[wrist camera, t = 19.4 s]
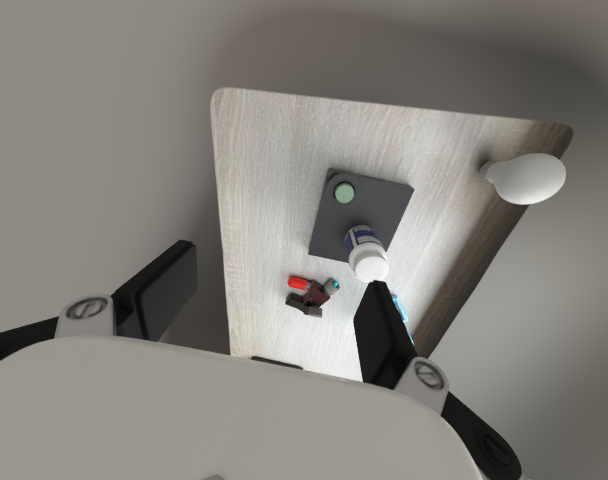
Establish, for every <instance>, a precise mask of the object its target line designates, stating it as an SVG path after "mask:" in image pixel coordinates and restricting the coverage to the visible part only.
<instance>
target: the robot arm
mask: <svg viewBox="0 0 608 480" xmlns="http://www.w3.org/2000/svg"><path fill="white" fill-rule="evenodd" d="M197 287H198V276H197V254H196V246H195V245H193V242H189V241H185V240H179V241H177V242H176V243H175V244H174V245H172V246H171V247H170V248H169V249H167V250H166V251H165V252H164V253H162V254H161V255H160V256H159V257H157V258H156V259H155V260H153V261H152V262H151V263H150V264H148V265H147V266H146V267H145V268H143V269H142V270H141V271H140V272H138V273H137V274H136V275H135V276H133V277H132V278H131V279H130V280H128V281H127V282H126V283H125V284H123V285H122V286H121V287H120V288H118V289H117V290H116V291H115V293H113V294H112V295H111V296H109V295H105V294H92V295H87V296H83V297H80V298H78V299H76V300H74V301H72V302H70V303H69V304H67V305H66V306H65V307H64V308H63V309H62V311H61V313H60V315H59V316H58V317H55V318H51V319H48V320H44V321H41V322H37V323H33V324H30V325H26V326H22V327H19V328H15V329H12V330H8V331H4V332H1V333H0V480H528V479H527V478H526V477H525V476H524V475H523V474H522V471H521V465H520V463H519V460H518V458H517V456H516V455H515V453H514V451H513V449H512V448H511V447H510V445H509V444H508V443H507V442H506V441H505V440H504V439H503V438H502V437H501V436H500V435H499V434H498V433H497V432H496V431H495V430H493V429H492V428H491V427H490V426H489V425H488V424H487V423H485V422H484V421H483V420H482V419H481V418H480V417H478V416H477V415H476V414H475V413H474V412H473V411H471V410H470V409H469V408H468V407H467V406H466V405H464V404H463V403H462V402H461V401H460V400H459V399H457V398H456V397H455V396H454V395H453V394H451V393H450V392H449V391H448V390H449V383H448V380H447V378H446V376H445V374H444V373H443V372H442V370H441V369H440V368H439V367H438V366H437V365H435V364H434V363H433V362H431V361H430V360H428V359H426V358H423V357H418V355H417V353H416V351H415V348H414V346H413V343H412V341H411V339H410V336H409V334H408V332H407V329H406V327H405V324H404V322H403V320H402V317H401V315H400V313H399V311H398V310H397V309H396V306H395V304H394V301H393V299H392V296H391V294H390V292H389V289H388V287H387V284H386V282H383V281H378V280H373V282H369V284H368V286H367V288H366V291H365V293H364V295H363V298H362V300H361V302H360V305H359V307H358V309H357V311H356V314H355V316H354V321H353V323H354V329H355V335H356V342H357V348H358V354H359V360H360V366H361V372H362V379H363V382H359V381H354V380H350V379H345V378H341V377H336V376H331V375H326V374H321V373H316V372H311V371H306V370H301V369H296V368H291V367H286V366H281V365H275V364H270V363H265V362H260V361H255V360H250V359H245V358H239V357H234V356H229V355H224V354H218V353H213V352H208V351H203V350H197V349H192V348H187V347H181V346H176V345H171V344H165V343H158V342H157V341H158V340H159V339H160V337H161V336H162V335H163V334H164V332H165V331H166V330H167V328H168V327H169V326H170V324H171V323H172V321H173V320H174V319H175V317H176V316H177V315H178V314H179V313H180V311H181V310H182V309H183V307H184V306H185V305H186V303H187V302H188V301H189V299H190V298H191V297H192V295H193V294H194V293H195V292H196V290H197ZM529 480H533V479H532V478H531V479H529Z"/></svg>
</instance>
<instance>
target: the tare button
mask: <svg viewBox="0 0 608 480" xmlns="http://www.w3.org/2000/svg"><path fill="white" fill-rule="evenodd" d="M335 196H336V199H337V200H338V201H339V202H341V203H347V202H349V201H351V200H352V198H353V196H354V190H353V188H352V186H351V185H350V184H348V183H341V184H339V185H338V186H337V187H336V189H335Z"/></svg>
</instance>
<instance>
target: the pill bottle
mask: <svg viewBox="0 0 608 480" xmlns="http://www.w3.org/2000/svg"><path fill="white" fill-rule="evenodd" d="M344 242H345V247H346V252H347V256H348V260H349V264H350V266H351V268H352V269H353V270H354V272H355V275H356V277H357V278H358V279H359V280H360V281H362V282H364V283H369V282H373V280H378V281H381V280H382V279H384V278H385V277H386V275H387V273H388V269H389V268H388V264H387V262H386V261H387V254H386V252H385V249H384V248H383V246H382V244H381V242H380V240H379V238H378V236H377V235H376V233H375V231H374V230H373V229H372V228H370V227H368V226H365V225H358V226H355V227H353V228H351V229H350V230H349V231H348V232H347V233H346V235H345V239H344Z"/></svg>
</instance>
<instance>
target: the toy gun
mask: <svg viewBox="0 0 608 480" xmlns="http://www.w3.org/2000/svg"><path fill="white" fill-rule="evenodd" d="M338 282H339V281H338ZM338 282H336V281H335V280H333V279H331V280H330V281H329V282H328V283H327V284H326V285H325V286H324V287H322V286H321V285H320V284H318V283H317V282H315V281H314V280H312V281H311V282H310V283H309V282H307V280H303V279H299V278H294V277H291V278H289V280H288V285H289V286H290V287H293V288H298V289H302V290H305V289H308V292H307V293H306V294H305V295H304V296H303V297H299V296H296V295H294V294H290V295H289V296H288V297H287V298H286V302H285V304H287V305H289V306H292V307H295V308H297V309H299V310H301V311H302V312H304V314H305V315H310V316H315V317H322V309H321V308H319V307H320V306H321V305H322V304H324V303H325V302H326V301H327V300H329V299H330V295H332V294H334V293H335V292H336V291H337V290H338V289H339V288H340V287H339V284H338ZM310 298H313V299H312V300H311V301H308V300H309V299H310Z"/></svg>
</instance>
